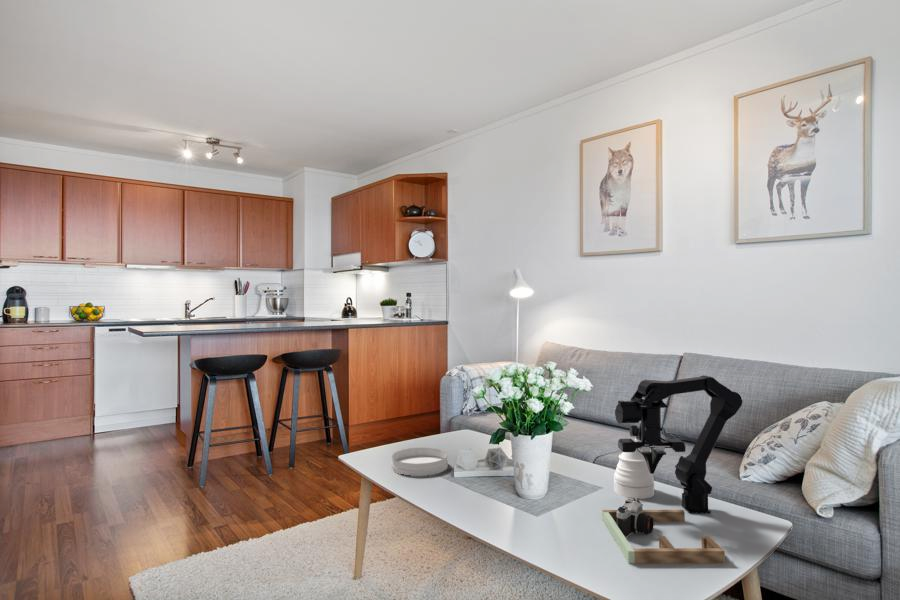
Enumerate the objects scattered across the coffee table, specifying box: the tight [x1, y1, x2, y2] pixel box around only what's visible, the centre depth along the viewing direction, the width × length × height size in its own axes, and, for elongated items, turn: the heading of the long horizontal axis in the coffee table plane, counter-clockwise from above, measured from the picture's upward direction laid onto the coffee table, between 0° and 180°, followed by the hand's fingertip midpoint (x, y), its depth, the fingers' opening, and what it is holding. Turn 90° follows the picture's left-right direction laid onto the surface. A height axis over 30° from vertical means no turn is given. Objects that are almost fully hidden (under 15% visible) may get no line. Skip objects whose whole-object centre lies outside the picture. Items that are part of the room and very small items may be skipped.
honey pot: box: [613, 438, 655, 500], centre depth 183 cm, size 13×13×18 cm
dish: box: [391, 447, 449, 477], centre depth 213 cm, size 22×22×5 cm
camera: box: [616, 497, 655, 539], centre depth 152 cm, size 13×8×9 cm, turn 141°
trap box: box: [601, 509, 726, 564], centre depth 147 cm, size 24×26×3 cm
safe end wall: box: [601, 509, 636, 564], centre depth 147 cm, size 2×26×3 cm, turn 178°
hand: (651, 473), depth 165 cm, fingers closed
